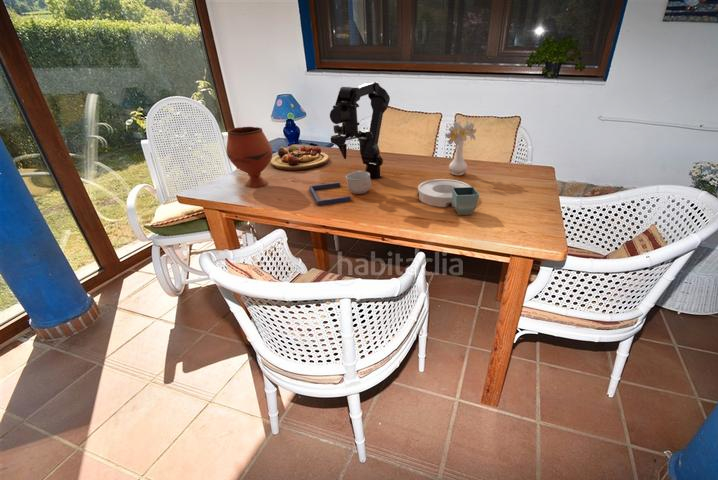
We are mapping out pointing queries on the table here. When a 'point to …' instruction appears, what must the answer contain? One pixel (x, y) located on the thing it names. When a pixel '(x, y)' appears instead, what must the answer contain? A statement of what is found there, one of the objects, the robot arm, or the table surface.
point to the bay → (327, 201)
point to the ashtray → (438, 191)
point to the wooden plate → (299, 158)
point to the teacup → (358, 182)
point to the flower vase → (459, 145)
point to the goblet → (249, 152)
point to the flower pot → (465, 200)
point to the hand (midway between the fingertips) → (353, 156)
